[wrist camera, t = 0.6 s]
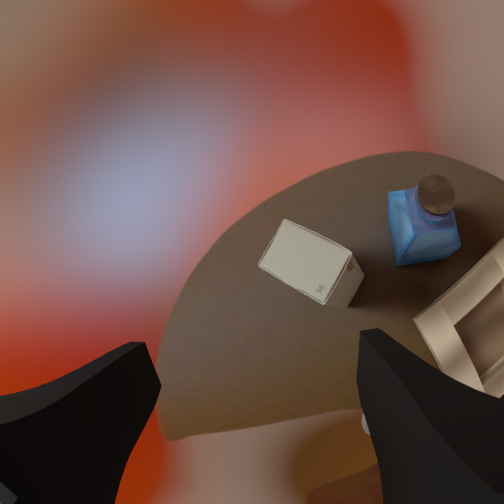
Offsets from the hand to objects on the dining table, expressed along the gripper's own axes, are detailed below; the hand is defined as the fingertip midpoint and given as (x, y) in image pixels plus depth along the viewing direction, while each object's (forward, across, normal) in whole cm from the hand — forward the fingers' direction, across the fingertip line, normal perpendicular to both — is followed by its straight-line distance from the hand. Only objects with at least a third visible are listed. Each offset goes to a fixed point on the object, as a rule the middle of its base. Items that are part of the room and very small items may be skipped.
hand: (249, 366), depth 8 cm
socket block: (+14, -23, +11) cm, 29 cm away
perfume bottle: (+21, -16, +2) cm, 27 cm away
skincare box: (+22, -6, +6) cm, 24 cm away
